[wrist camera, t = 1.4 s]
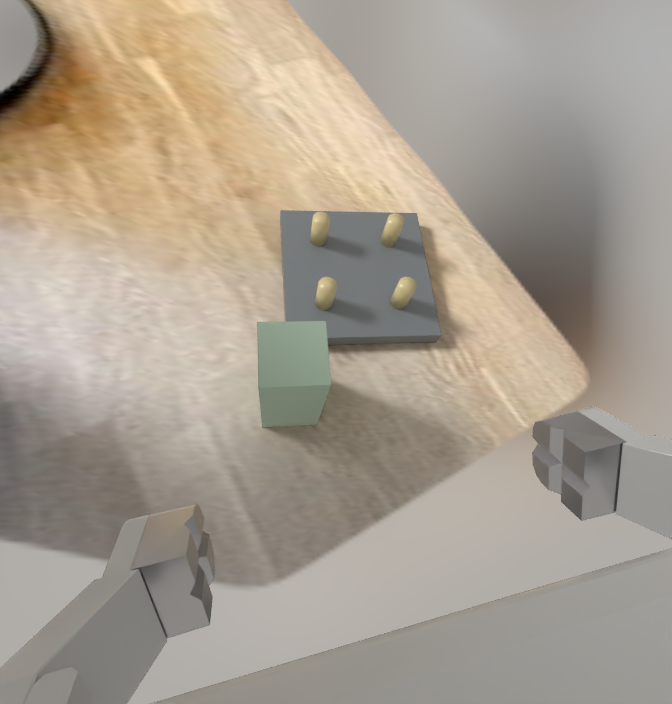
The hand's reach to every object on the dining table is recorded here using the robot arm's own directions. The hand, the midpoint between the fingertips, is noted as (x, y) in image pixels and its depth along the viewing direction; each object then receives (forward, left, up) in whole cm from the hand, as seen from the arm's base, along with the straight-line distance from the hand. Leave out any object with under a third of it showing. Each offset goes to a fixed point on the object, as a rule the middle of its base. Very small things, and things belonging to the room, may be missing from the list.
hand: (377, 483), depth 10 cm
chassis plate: (+6, +22, -25) cm, 34 cm away
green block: (-1, +10, -25) cm, 27 cm away
